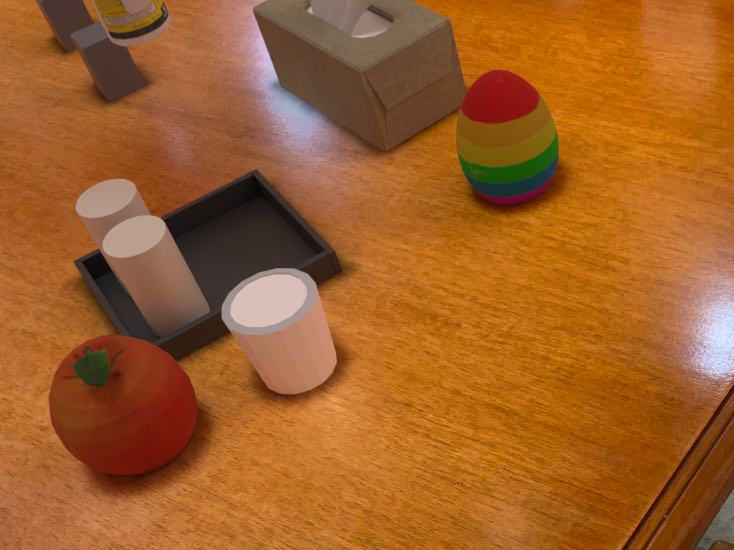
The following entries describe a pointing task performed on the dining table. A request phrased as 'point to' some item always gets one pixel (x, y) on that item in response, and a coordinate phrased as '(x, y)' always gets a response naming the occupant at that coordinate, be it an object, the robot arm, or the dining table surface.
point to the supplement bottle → (131, 22)
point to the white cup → (282, 329)
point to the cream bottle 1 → (109, 210)
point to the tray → (219, 257)
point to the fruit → (122, 405)
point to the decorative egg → (506, 139)
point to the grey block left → (65, 19)
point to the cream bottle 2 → (155, 273)
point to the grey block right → (107, 62)
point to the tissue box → (366, 63)
